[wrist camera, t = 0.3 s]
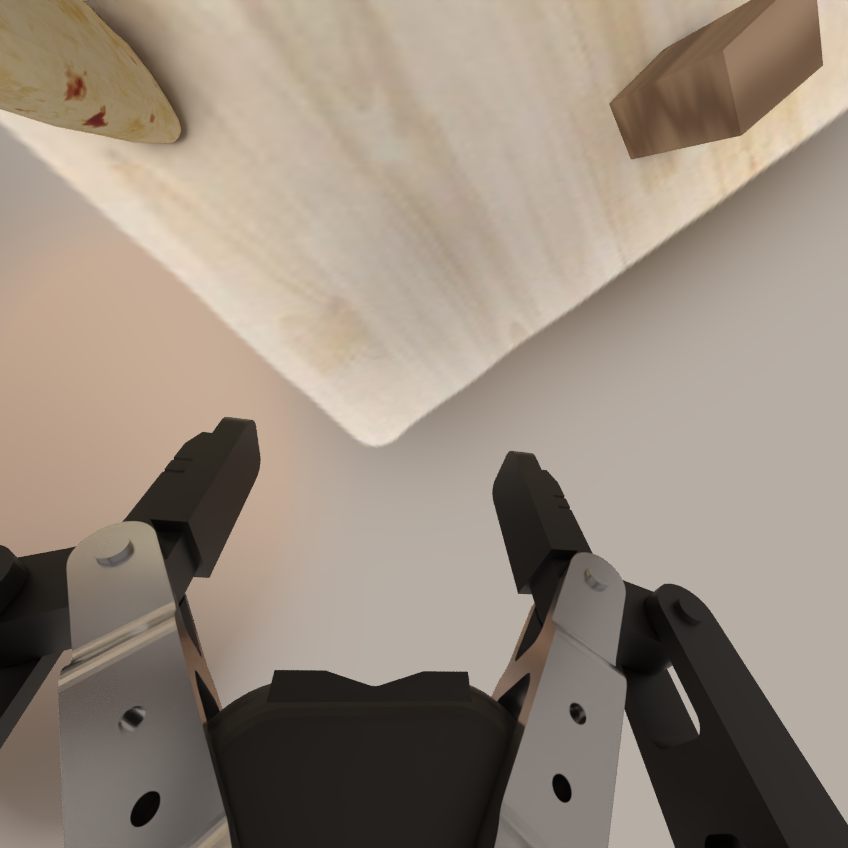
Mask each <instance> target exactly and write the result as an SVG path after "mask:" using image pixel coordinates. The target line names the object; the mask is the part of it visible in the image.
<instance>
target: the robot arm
mask: <svg viewBox="0 0 848 848" xmlns="http://www.w3.org/2000/svg"><path fill="white" fill-rule="evenodd" d="M259 468H260V452H259V444H258V437H257V430H256V424H255V422H254V421H253V420H248V419H240V418H231V417H224V418H223V419H222V420H221V422H220V423H219V424H218V426H217V427H216V428H215V430H214V431H213V433H207V432H202V433H200V434H199V435H197V436H196V437H194V438H193V439H191V440H189V441H188V442H186V443H185V444H184V445H183V446H182V448H181V449H180V450H179V452H178V453H177V454H176V455H175V457H174V460H172V461H171V462H170V463H169V464H168V465H167V467H166V468H165V471H164V472H162V473H161V474H160V475H159V477H158V478H157V479H156V481H155V482H154V483H153V484H152V486H151V487H150V488H149V489H148V491H147V492H146V493H145V494H144V496H143V497H142V498H141V500H140V501H139V502H138V503H137V504H136V506H135V507H134V508H133V510H132V511H131V512H130V513H129V515H128V516H127V517H126V518H125V519H124V520H123V522H120V523H116V524H112V525H109V526H107V527H104V528H102V529H100V530H98V531H96V532H94V533H93V534H91V535H89V536H88V537H86V538H85V539H84V540H83V541H82V542H80V543H79V544H78V545H77V546H76V547H72V548H67V549H62V550H56V551H51V552H46V553H40V554H34V555H29V556H24V557H18V558H17V557H16V556H15V555H14V554H13V553H12V552H11V551H10V550H9V549H8V548H6V547H5V546H2V545H0V748H1V747H2V745H3V744H4V742H5V741H6V739H7V738H8V736H9V735H10V733H11V731H12V729H13V728H14V727H15V725H16V724H17V722H18V721H19V719H20V717H21V716H22V714H23V713H24V711H25V710H26V708H27V706H28V705H29V703H30V702H31V700H32V699H33V697H34V695H35V694H36V692H37V691H38V689H39V688H40V686H41V685H42V683H43V682H44V680H45V678H46V677H47V675H48V674H49V672H50V671H51V669H52V668H53V666H54V664H55V663H56V661H57V660H58V658H59V657H60V655H61V654H62V652H63V651H64V650H68V649H72V660H71V663H70V664H69V665H68V666H65V667H64V668H63V669H62V671H61V673H60V676H59V680H58V707H59V732H60V754H61V755H60V756H61V777H62V778H61V780H62V803H63V804H62V805H63V829H64V848H608V843H609V833H610V825H611V817H612V808H613V800H614V792H615V783H616V775H617V766H618V757H619V749H620V741H621V732H622V724H623V715H624V709H625V711H626V714H627V717H628V720H629V722H630V725H631V728H632V730H633V733H634V736H635V739H636V741H637V744H638V747H639V750H640V752H641V755H642V758H643V761H644V764H645V766H646V769H647V772H648V774H649V777H650V780H651V783H652V785H653V788H654V791H655V794H656V796H657V799H658V802H659V805H660V807H661V810H662V813H663V816H664V818H665V821H666V824H667V826H668V829H669V832H670V835H671V838H672V840H673V843H674V846H675V848H848V825H847V823H846V821H845V820H844V818H843V817H842V815H841V814H840V812H839V811H838V809H837V808H836V806H835V804H834V803H833V801H832V800H831V798H830V796H829V795H828V793H827V792H826V790H825V789H824V787H823V786H822V784H821V782H820V781H819V779H818V778H817V776H816V775H815V773H814V772H813V770H812V768H811V767H810V765H809V764H808V762H807V761H806V759H805V757H804V756H803V755H802V753H801V751H800V750H799V748H798V747H797V745H796V744H795V742H794V740H793V739H792V737H791V736H790V734H789V733H788V731H787V729H786V728H785V726H784V725H783V723H782V722H781V720H780V719H779V717H778V715H777V714H776V712H775V711H774V709H773V708H772V706H771V705H770V703H769V701H768V700H767V698H766V697H765V695H764V694H763V692H762V690H761V689H760V687H759V686H758V684H757V683H756V681H755V680H754V678H753V677H752V675H751V673H750V672H749V670H748V669H747V667H746V666H745V664H744V663H743V661H742V659H741V658H740V656H739V655H738V653H737V652H736V650H735V649H734V647H733V645H732V644H731V642H730V641H729V639H728V637H727V636H726V634H725V633H724V631H723V630H722V628H721V627H720V625H719V623H718V622H717V621H716V619H715V617H714V616H713V614H712V613H711V611H710V610H709V609H708V608H707V606H706V605H705V604H704V603H703V602H702V601H701V600H700V599H699V598H698V597H696V596H695V595H694V594H693V593H691V592H690V591H688V590H686V589H684V588H683V587H681V586H678V585H674V584H664V585H662V586H661V587H659V588H658V589H657V590H655V591H654V592H653V591H650V590H647V589H644V588H642V587H639V586H636V585H634V584H631V583H629V582H626V581H624V580H622V579H621V577H620V575H619V573H618V572H617V571H616V570H615V569H614V567H613V566H612V565H611V564H609V563H608V562H607V561H606V560H604V559H603V558H601V557H599V556H597V555H594V554H593V553H592V551H591V549H590V547H589V545H588V543H587V541H586V539H585V537H584V535H583V533H582V531H581V529H580V527H579V525H578V523H577V521H576V519H575V517H574V515H573V513H572V511H571V510H570V506H569V504H568V502H567V500H566V499H564V494H563V492H562V490H561V488H560V486H559V484H558V482H557V481H556V480H555V479H554V478H553V477H552V476H551V475H550V474H549V472H547V470H541V468H540V465H539V463H538V461H537V459H536V457H535V455H534V454H532V453H524V452H516V451H510V452H508V454H507V455H506V458H505V460H504V462H503V464H502V466H501V469H500V470H499V473H498V475H497V477H496V479H495V481H494V485H493V493H492V494H493V501H494V505H495V508H496V513H497V516H498V520H499V524H500V527H501V531H502V535H503V538H504V542H505V546H506V550H507V554H508V557H509V561H510V565H511V569H512V572H513V576H514V580H515V583H516V587H517V591H518V594H532V596H533V599H534V602H535V603H534V604H533V606H532V607H531V610H530V612H529V614H528V617H527V620H526V622H525V624H524V627H523V629H522V632H521V634H520V637H519V639H518V642H517V645H516V647H515V650H514V652H513V655H512V657H511V660H510V662H509V664H508V666H507V668H506V670H505V672H504V674H503V675H502V677H501V678H500V680H499V682H498V684H497V686H496V688H495V690H494V692H493V694H492V696H491V697H490V696H489V695H487V694H486V693H484V692H483V691H481V690H479V689H477V688H475V687H473V686H470V685H469V677H468V672H436V671H433V672H432V671H430V672H429V671H424V672H420V673H417V674H414V675H411V676H408V677H405V678H402V679H398V680H395V681H392V682H389V683H386V684H383V685H380V686H370V685H367V684H364V683H361V682H358V681H355V680H352V679H349V678H346V677H343V676H340V675H337V674H334V673H331V672H328V671H315V670H313V671H312V670H310V671H308V670H275V671H274V675H273V679H272V683H271V684H269V685H265V686H262V687H260V688H258V689H255V690H253V691H251V692H248V693H247V694H245V695H243V696H242V697H240V698H238V699H236V700H235V701H233V702H232V703H231V704H229V705H228V706H226V707H225V708H224V709H222V706H221V703H220V700H219V697H218V693H217V690H216V687H215V684H214V681H213V679H212V676H211V673H210V671H209V669H208V666H207V663H206V660H205V657H204V654H203V650H202V647H201V643H200V640H199V637H198V633H197V630H196V626H195V623H194V620H193V616H192V613H191V610H190V606H189V603H188V599H187V596H186V594H185V592H186V590H187V588H188V586H189V584H190V582H191V580H192V578H193V577H205V578H209V577H210V575H211V573H212V571H213V569H214V567H215V565H216V562H217V560H218V558H219V556H220V554H221V552H222V550H223V548H224V546H225V544H226V541H227V539H228V537H229V535H230V533H231V531H232V529H233V527H234V525H235V522H236V520H237V518H238V516H239V514H240V512H241V510H242V508H243V505H244V503H245V501H246V499H247V497H248V495H249V493H250V491H251V489H252V487H253V484H254V482H255V480H256V478H257V476H258V472H259ZM671 666H673V667H674V669H675V671H676V673H677V675H678V677H679V679H680V681H681V683H682V685H683V687H684V689H685V691H686V693H687V695H688V697H689V699H690V702H691V704H692V706H693V708H694V710H695V712H696V714H697V716H698V719H699V723H700V734H699V735H698V732H697V730H696V728H695V726H694V724H693V722H692V720H691V718H690V716H689V714H688V712H687V710H686V708H685V705H684V703H683V701H682V699H681V697H680V695H679V693H678V691H677V689H676V687H675V684H674V682H673V680H672V678H671V676H670V674H669V672H668V670H667V668H669V667H671Z"/></svg>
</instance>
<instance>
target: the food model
mask: <svg viewBox="0 0 848 848" xmlns="http://www.w3.org/2000/svg"><path fill="white" fill-rule="evenodd" d="M0 109H2V110H5V111H8V112H11V113H15V114H18V115H21V116H24V117H27V118H30V119H33V120H37V121H40V122H43V123H46V124H49V125H52V126H56V127H61V128H66V129H71V130H76V131H82V132H87V133H93V134H97V135H102V136H107V137H111V138H116V139H121V140H126V141H130V142H141V143H173V142H174V141H176V140H177V139H178V138H179V136H180V133H181V127H180V123H179V120H178V118H177V116H176V114H175V112H174V110H173V109H172V107H171V105H170V103H169V102H168V100H167V98H166V96H165V95H164V93H163V92H162V90H161V89H160V87H159V86H158V84H157V82H156V81H155V79H154V78H153V76H152V75H151V73H150V72H149V71H148V69H147V68H146V67H145V66H144V64H143V63H142V62H141V61H140V59H139V58H138V57H137V56H136V54H135V53H134V52H133V50H132V49H131V48H130V46H129V45H128V44H127V43H126V42H125V41H124V40H123V39H122V38H120V37H119V36H118V35H117V34H116V33H115V32H114V31H113V30H112V29H111V28H110V27H108V26H107V25H106V24H105V23H104V22H103V21H102V20H101V19H100V18H99V16H98V15H97V14H96V13H95V12H94V11H93V10H92V9H91V8H90V7H89V6H88V5H87V4H86V3H85V2H84V1H83V0H0Z"/></svg>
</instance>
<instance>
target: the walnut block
mask: <svg viewBox="0 0 848 848" xmlns="http://www.w3.org/2000/svg"><path fill="white" fill-rule="evenodd" d="M822 66H823V60H822V49H821V38H820V28H819V17H818V6H817V0H751V1H749V2H747V3H745V4H743V5H742V6H740V7H738V8H736V9H735V10H733V11H731V12H729V13H728V14H726V15H724V16H722V17H721V18H719V19H717V20H715V21H714V22H712V23H710V24H708V25H707V26H705V27H703V28H701V29H699V30H698V31H696V32H694V33H692V34H691V35H689V36H687V37H685V38H684V39H682V40H680V41H678V42H677V43H675V44H673V45H671V46H670V47H668V48H666V49H664V50H663V51H662V52H661V53H660V54H659V55H658V56H657V57H656V58H655V59H654V60H653V61H652V62H651V63H650V64H649V65H648V66H647V67H646V68H645V69H644V70H643V71H642V72H641V73H640V74H639V75H638V76H637V77H636V78H635V79H634V80H633V81H632V82H631V83H630V84H629V85H628V86H627V87H626V88H625V89H624V90H623V91H622V92H621V93H620V94H619V95H618V96H617V97H616V98H615V99H614V100H613V101H612V102H611V103H610V107H611V109H612V112H613V114H614V117H615V120H616V122H617V125H618V127H619V130H620V132H621V135H622V137H623V140H624V143H625V145H626V148H627V150H628V153H629V155H630V158H631V159H635V158H640V157H644V156H649V155H653V154H658V153H663V152H667V151H672V150H676V149H681V148H686V147H690V146H695V145H699V144H704V143H709V142H713V141H718V140H722V139H727V138H732V137H736V136H741V135H743V134H744V133H745V132H746V131H747V130H748V129H749V128H751V127H752V126H753V125H754V124H755V123H756V122H758V121H759V120H760V119H761V118H762V117H763V116H765V115H766V114H767V113H768V112H769V111H770V110H772V109H773V108H774V107H775V106H776V105H777V104H779V103H780V102H781V101H782V100H783V99H784V98H786V97H787V96H788V95H789V94H790V93H791V92H793V91H794V90H795V89H796V88H797V87H798V86H799V85H801V84H802V83H803V82H804V81H805V80H806V79H808V78H809V77H810V76H811V75H812V74H813V73H815V72H816V71H817V70H818V69H819V68H820V67H822Z"/></svg>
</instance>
